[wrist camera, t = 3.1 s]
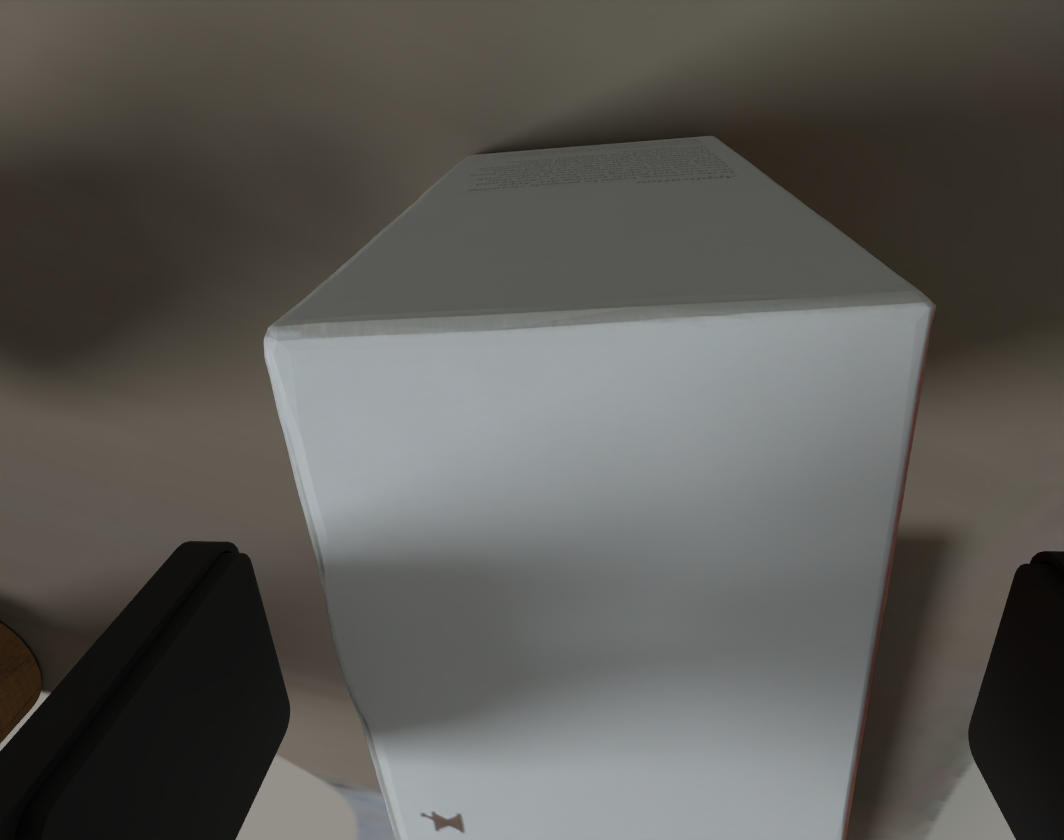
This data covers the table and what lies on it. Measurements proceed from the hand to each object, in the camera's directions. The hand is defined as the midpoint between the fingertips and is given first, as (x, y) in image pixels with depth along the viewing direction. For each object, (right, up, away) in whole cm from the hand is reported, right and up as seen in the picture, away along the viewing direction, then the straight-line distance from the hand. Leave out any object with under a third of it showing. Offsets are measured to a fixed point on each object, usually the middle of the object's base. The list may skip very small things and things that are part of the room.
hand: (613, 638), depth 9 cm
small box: (+1, +6, +11) cm, 12 cm away
